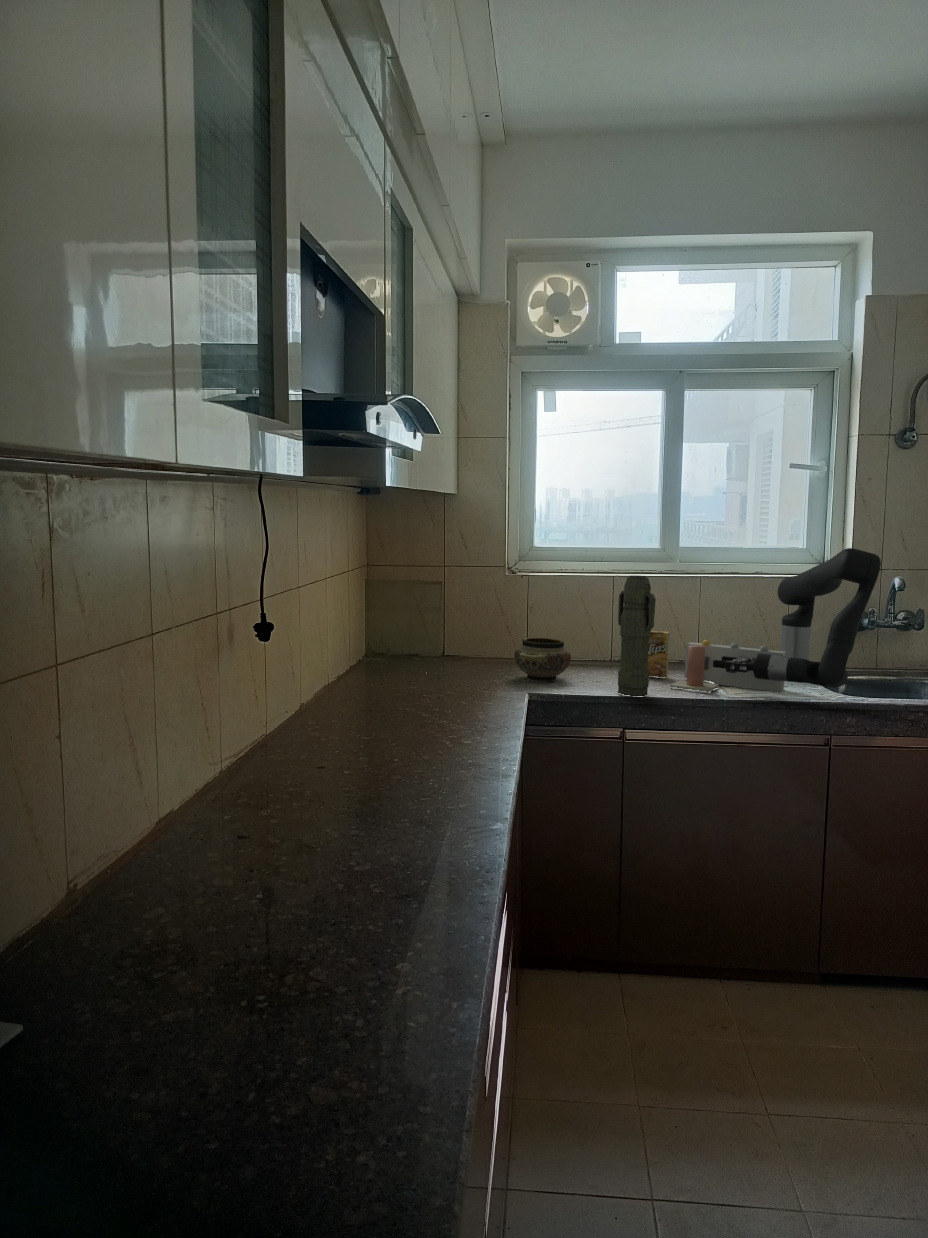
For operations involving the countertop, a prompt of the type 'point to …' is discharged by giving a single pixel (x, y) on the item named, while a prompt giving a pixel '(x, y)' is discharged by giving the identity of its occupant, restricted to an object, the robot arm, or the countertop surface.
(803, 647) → the robot arm
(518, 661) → the ceramic bowl
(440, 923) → the countertop surface
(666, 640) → the candy box
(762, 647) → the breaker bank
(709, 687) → the pad
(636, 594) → the thermos
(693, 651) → the pink cylinder
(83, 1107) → the countertop surface
